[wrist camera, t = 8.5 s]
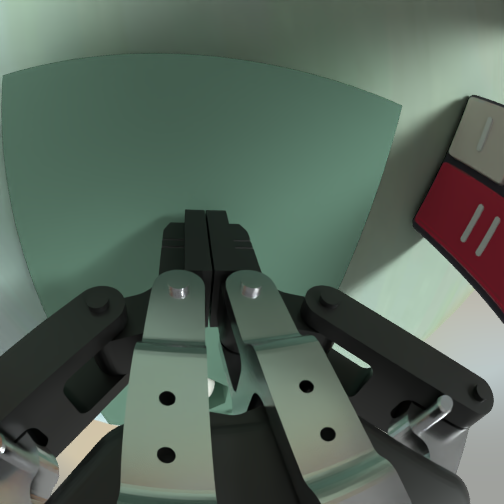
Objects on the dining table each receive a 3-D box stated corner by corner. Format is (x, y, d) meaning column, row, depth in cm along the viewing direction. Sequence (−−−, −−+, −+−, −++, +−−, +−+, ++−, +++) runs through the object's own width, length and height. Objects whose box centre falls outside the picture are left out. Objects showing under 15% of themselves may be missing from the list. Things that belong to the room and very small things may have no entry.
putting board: (365, 95, 12) (402, 105, 9) (263, 395, 27) (269, 419, 25) (36, 71, 8) (2, 75, 5) (110, 398, 23) (109, 424, 21)
